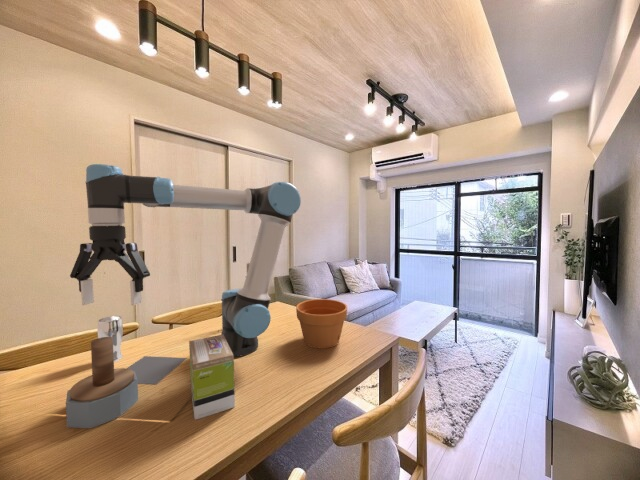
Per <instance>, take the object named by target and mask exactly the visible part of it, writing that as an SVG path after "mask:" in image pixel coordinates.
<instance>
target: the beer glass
mask: <svg viewBox="0 0 640 480" xmlns="http://www.w3.org/2000/svg"><path fill="white" fill-rule="evenodd" d="M123 328H124V327H123V319H122V316H121V315H110V316H105V317H102V318H100V319H98V320H97V339H98V338H102V337H113V354H114V363H116V362H118V361H120V360H121V359H122V358H123V355H122V348H121V345H122V341H123V334H124V329H123Z"/></svg>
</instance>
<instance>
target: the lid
mask: <svg viewBox="0 0 640 480" xmlns="http://www.w3.org/2000/svg"><path fill="white" fill-rule="evenodd" d="M90 354H91V355H90V356H91V373H92V374H90V375H88V376H86V377H84V378H83V379H80V380H79V381H78V382H76V383H75V384H73V386H72V387H71V388H70V389H69V390H70V398H71V399H72V400H74V401H78V402H86V401H93V400H98V399H102V398H105V397H108V396H110V395H113V394H115V393H117V392H119V391H121V390H123V389H124V388H126V387H127V386H129V385H130V384H131V383H132V382H133V380H134V372H133V371H132V370H131V369H127V368H128V367H126V368H125V367H124V368H123V367H117V368H115V362H114V354H113V337H102V338H98V337H97V338H95V339H94V340H92V341H91V342H90Z"/></svg>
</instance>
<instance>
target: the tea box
mask: <svg viewBox="0 0 640 480" xmlns="http://www.w3.org/2000/svg"><path fill="white" fill-rule="evenodd" d="M188 345H189V347H188V348H189V369H190V370H189V371H190V373H189V374H190V391H191V399H192V408H193V418H194V420H195V421H197V420H201V419H203V418H207V417H210V416H212V415H215V414H218V413H221V412H223V411H227V410H231V409H233V408H235V407H236V397H235V395H236V394H235V361H234V360H235V359H234V358H235V357H234V356H233V353H232V351H231V349H230V347H229V345H228V343H227V341H226V338H225V336H224V334H222V335H221V334H218V335H213V336H209V337H208V336H207V337H204V338H198V339H194V340H189V341H188Z"/></svg>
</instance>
